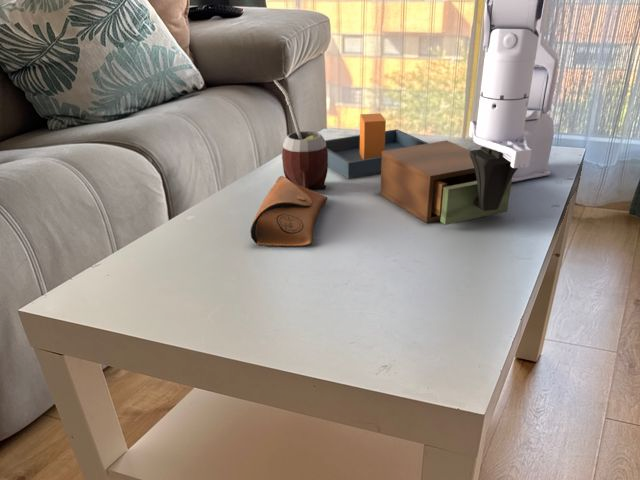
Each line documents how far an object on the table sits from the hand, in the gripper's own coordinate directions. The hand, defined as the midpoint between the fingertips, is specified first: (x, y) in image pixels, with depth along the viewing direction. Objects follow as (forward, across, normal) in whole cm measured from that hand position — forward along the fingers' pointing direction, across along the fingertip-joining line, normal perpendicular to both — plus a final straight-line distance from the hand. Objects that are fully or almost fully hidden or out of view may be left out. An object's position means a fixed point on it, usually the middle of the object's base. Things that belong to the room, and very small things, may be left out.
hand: (488, 208), depth 84 cm
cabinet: (+3, +12, +3) cm, 13 cm away
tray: (+3, +35, +7) cm, 36 cm away
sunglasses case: (+3, +10, +25) cm, 27 cm away
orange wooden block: (+2, +35, +7) cm, 36 cm away
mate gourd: (+3, +23, +21) cm, 32 cm away
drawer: (+2, +8, +2) cm, 8 cm away
